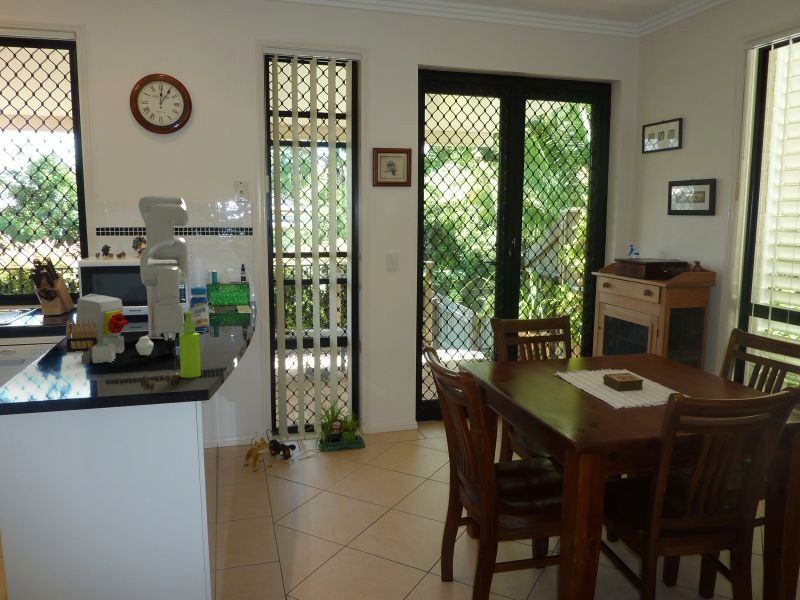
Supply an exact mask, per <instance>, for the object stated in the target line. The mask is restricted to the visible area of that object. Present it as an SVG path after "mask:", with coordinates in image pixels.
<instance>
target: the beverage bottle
mask: <svg viewBox="0 0 800 600" xmlns="http://www.w3.org/2000/svg"><path fill="white" fill-rule="evenodd" d="M207 290H208V289H207V287H205V286H196V287H191V288H190V295H191V296H192V297H191V298H190V301H189V305H190V307H189V311H195V313H192V321H193V322H194V323H195V331H205V330H209V329H210V330H211V328H210V306H209V303H210V302H209V299H208V297H207V296H206V295H207V293H208V291H207Z"/></svg>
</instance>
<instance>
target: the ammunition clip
mask: <svg viewBox="0 0 800 600" xmlns="http://www.w3.org/2000/svg"><path fill="white" fill-rule="evenodd" d="M70 324H71V325H70ZM65 330H66V331H65V335H66V336H65V337H66V343H65V345H66V346H65V347H66V348H65V349H66V351H65V352H66V353H74V352H75V353H77V352H76V351H82V352H86V351H88V350H89V349H90V348H92V347H93V346H94V345H96V344H97V343H98V339H97V329H96V322H95V320H94V319H93V329H92V330H91V323H90V320H89V319H88V322H87V331H86V325H85V321H84V319H83V321H82V334H81V327H80V322H79V320H78V321H77V337H76V321H75V320H74V319H72V321H71V323H70V320H69V319H68V320H67V321H66V329H65ZM92 341H93V344H92ZM87 343H88V344H87Z"/></svg>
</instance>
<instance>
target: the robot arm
mask: <svg viewBox="0 0 800 600" xmlns="http://www.w3.org/2000/svg"><path fill="white" fill-rule="evenodd" d="M185 202H186V201H185V200H184V199H183V198H182V197H180V196H167V195H166V196H162V195H147V196H142V197H141V198H139V201H138V210H139V212H140V216H141V218H142V220H143V222H144V225H145V226H144V227H145V234H146V235H145V236H146V246H145V248H144V249H143V250H142V252H141V254H140V259H139V266H140V267H139V269H140V271H139V272H140V279H141V282H142V285H144V286H145V287H146V295H147V298H146V299H147V300H146V301H147V315H148V316H147V317H148V320H147V321H148V322H147V323H148V334H145V336H147V337H149V338H150V339H164V341H165V348H166V350H167V352H173V351H174V349H176V339H177V338H178V337H179V334H182V333H184V332H183V323H185V315H184V313H185V312H184V308H183V305H182V304H181V301H180V300H181V298H180V286H183V285H187V283H188V281H189V254H188V253H189V252H188V243H187V241H186V239H185V238H183V237H179V236H175V234H174V233H175V231H174V227H185V226H187V225H188V223H189V210H188V207H187V205H186V203H185ZM149 259H150V260H153V261H176V262H160V263H159V262H154V263H150V264H149ZM170 338H171V339H170Z"/></svg>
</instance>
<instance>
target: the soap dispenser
mask: <svg viewBox="0 0 800 600" xmlns="http://www.w3.org/2000/svg"><path fill="white" fill-rule="evenodd" d="M183 313H184V316H185V321H184V323H183V332H184V333H182V334H179V336H178V337H179V360H180V361H179V362H180V365H179V366H180V377H181V378H183V379H185V378H186V379H188V378H189V379H191V378H193V379H194V378H197V377H200V376H202V374H201V373H202V371H201V370H202V369H201V343H200V341H201V340H200V333H196V332H195V323H194V322H193V321H192V313H195V311H190V310H186V311H185V312H183Z"/></svg>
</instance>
